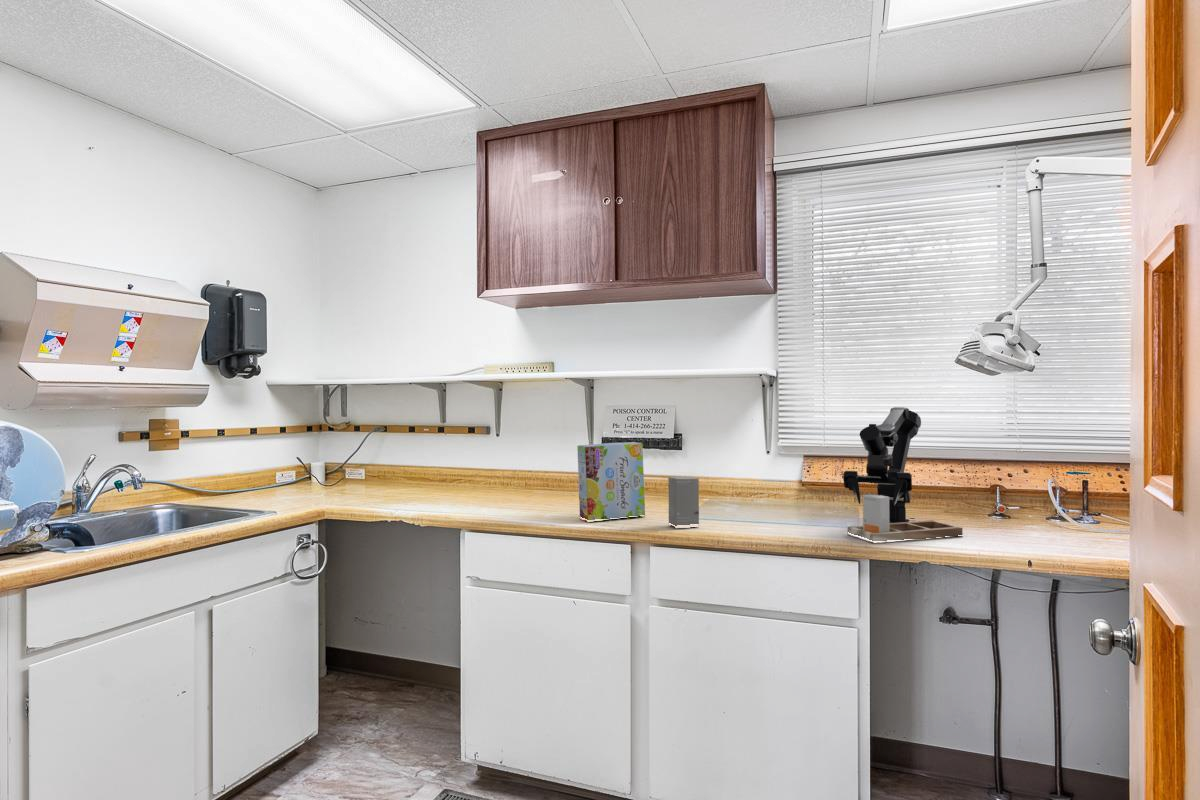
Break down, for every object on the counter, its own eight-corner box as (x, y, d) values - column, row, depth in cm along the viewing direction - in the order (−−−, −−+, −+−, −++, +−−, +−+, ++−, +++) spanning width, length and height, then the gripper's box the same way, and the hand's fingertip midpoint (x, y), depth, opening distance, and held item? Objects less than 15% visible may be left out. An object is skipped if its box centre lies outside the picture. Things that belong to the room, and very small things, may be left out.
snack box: (635, 513, 236) (633, 441, 235) (646, 517, 228) (644, 442, 227) (577, 519, 227) (576, 444, 227) (587, 523, 219) (585, 445, 219)
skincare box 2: (862, 536, 193) (862, 495, 192) (872, 534, 195) (872, 493, 194) (880, 540, 187) (879, 497, 187) (890, 538, 189) (890, 496, 189)
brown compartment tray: (847, 535, 196) (847, 526, 195) (931, 528, 203) (931, 520, 203) (874, 543, 184) (873, 534, 184) (962, 536, 191) (962, 527, 191)
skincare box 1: (675, 529, 207) (675, 479, 207) (667, 525, 214) (666, 476, 214) (700, 527, 209) (700, 477, 209) (691, 523, 216) (691, 475, 216)
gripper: (843, 444, 201) (840, 485, 191) (911, 445, 193) (911, 488, 183) (846, 467, 208) (843, 508, 198) (911, 468, 200) (912, 511, 190)
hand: (876, 503), depth 192 cm, fingers open, 9 cm apart
